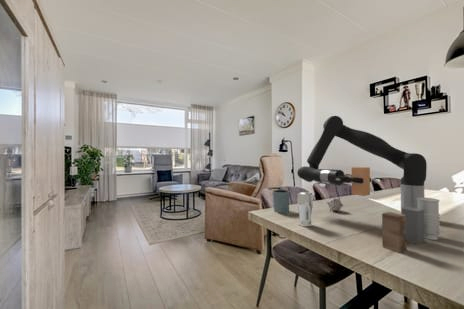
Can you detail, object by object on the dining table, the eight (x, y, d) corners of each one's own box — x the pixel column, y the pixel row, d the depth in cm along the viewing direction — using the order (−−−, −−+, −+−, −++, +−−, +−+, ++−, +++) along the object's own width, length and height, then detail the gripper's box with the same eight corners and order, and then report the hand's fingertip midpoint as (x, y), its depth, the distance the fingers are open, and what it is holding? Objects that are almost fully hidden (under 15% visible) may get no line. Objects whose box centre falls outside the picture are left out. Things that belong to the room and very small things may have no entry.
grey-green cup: (272, 213, 120) (272, 192, 120) (272, 208, 130) (272, 189, 130) (291, 213, 118) (291, 192, 118) (289, 209, 128) (289, 189, 128)
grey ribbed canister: (412, 233, 88) (411, 197, 88) (429, 233, 87) (428, 197, 87) (426, 240, 81) (426, 201, 81) (445, 240, 81) (444, 200, 81)
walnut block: (390, 244, 78) (389, 211, 78) (406, 249, 73) (405, 215, 73) (382, 247, 75) (382, 213, 75) (398, 252, 71) (398, 217, 71)
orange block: (358, 193, 97) (358, 166, 97) (369, 194, 92) (369, 167, 92) (351, 194, 94) (351, 167, 94) (363, 196, 90) (362, 167, 90)
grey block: (408, 236, 84) (408, 206, 84) (424, 241, 80) (424, 209, 80) (402, 239, 82) (401, 208, 82) (418, 244, 77) (417, 211, 77)
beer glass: (295, 222, 103) (294, 192, 103) (309, 222, 104) (308, 191, 104) (301, 227, 96) (300, 194, 96) (315, 226, 97) (315, 194, 97)
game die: (337, 217, 124) (348, 203, 124) (336, 215, 117) (347, 200, 117) (324, 207, 129) (334, 194, 129) (321, 205, 123) (332, 191, 122)
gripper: (322, 170, 103) (356, 172, 88) (341, 168, 109) (376, 170, 94) (322, 185, 103) (356, 190, 88) (341, 183, 109) (376, 187, 94)
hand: (366, 180), depth 91 cm, fingers closed on orange block, 5 cm apart
